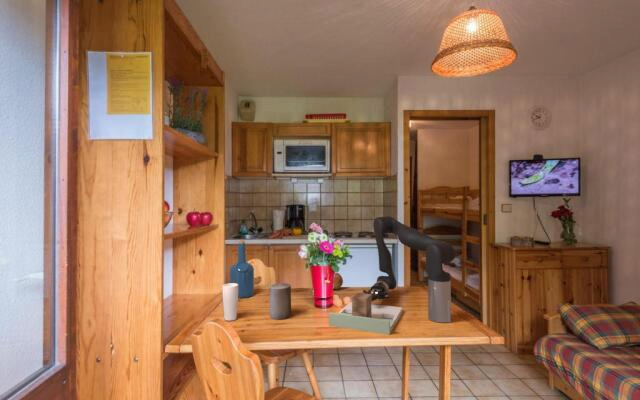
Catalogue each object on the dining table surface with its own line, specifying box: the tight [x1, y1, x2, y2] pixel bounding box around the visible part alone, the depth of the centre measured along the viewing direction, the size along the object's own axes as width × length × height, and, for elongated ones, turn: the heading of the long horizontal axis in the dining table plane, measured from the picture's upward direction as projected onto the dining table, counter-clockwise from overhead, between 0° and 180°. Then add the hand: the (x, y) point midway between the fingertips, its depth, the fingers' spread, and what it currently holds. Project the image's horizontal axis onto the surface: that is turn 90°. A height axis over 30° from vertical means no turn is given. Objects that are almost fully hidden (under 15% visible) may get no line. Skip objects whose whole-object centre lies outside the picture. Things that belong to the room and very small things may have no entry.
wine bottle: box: [228, 240, 255, 299], centre depth 186 cm, size 14×13×30 cm
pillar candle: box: [268, 282, 292, 321], centre depth 153 cm, size 10×10×15 cm
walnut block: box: [351, 292, 372, 318], centre depth 142 cm, size 6×8×10 cm
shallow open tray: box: [328, 301, 404, 336], centre depth 149 cm, size 25×30×5 cm
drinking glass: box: [222, 282, 239, 322], centre depth 149 cm, size 7×7×15 cm
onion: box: [333, 272, 344, 291], centre depth 199 cm, size 10×10×10 cm
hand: (371, 299), depth 155 cm, fingers closed
